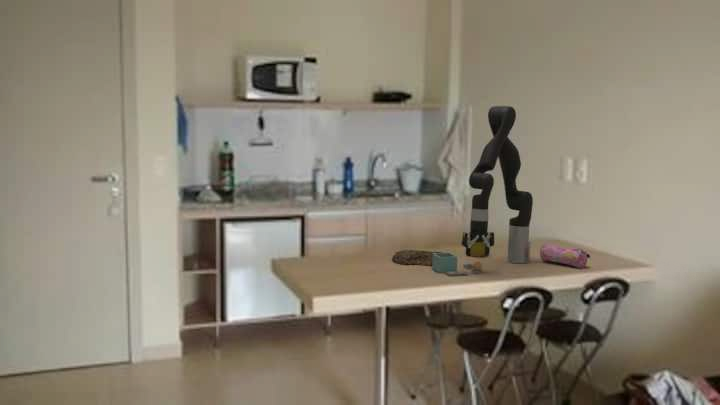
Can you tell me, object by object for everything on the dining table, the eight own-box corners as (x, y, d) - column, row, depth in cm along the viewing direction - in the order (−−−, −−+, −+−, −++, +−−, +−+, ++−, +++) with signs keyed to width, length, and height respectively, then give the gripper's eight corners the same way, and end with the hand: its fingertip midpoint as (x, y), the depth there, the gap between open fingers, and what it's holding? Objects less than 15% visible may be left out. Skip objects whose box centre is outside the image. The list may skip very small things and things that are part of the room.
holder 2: (479, 271, 320) (479, 268, 320) (483, 273, 317) (483, 270, 317) (471, 271, 319) (471, 269, 319) (475, 273, 316) (475, 270, 316)
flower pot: (489, 255, 354) (490, 237, 353) (482, 258, 347) (482, 239, 345) (472, 253, 359) (473, 235, 357) (465, 256, 351) (465, 237, 350)
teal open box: (449, 268, 325) (449, 252, 324) (456, 272, 317) (457, 256, 316) (432, 269, 323) (432, 253, 322) (439, 273, 315) (439, 257, 314)
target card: (463, 272, 317) (463, 270, 317) (468, 275, 313) (468, 272, 312) (444, 273, 315) (444, 271, 315) (449, 276, 310) (449, 274, 310)
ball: (479, 269, 320) (480, 260, 320) (483, 271, 317) (484, 262, 316) (471, 269, 319) (471, 260, 319) (475, 271, 316) (475, 262, 315)
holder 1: (470, 266, 329) (470, 264, 329) (474, 268, 325) (474, 265, 325) (463, 267, 328) (463, 264, 328) (466, 268, 324) (466, 266, 324)
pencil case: (589, 267, 333) (591, 248, 331) (579, 270, 326) (581, 250, 325) (548, 259, 347) (549, 241, 346) (537, 262, 341) (538, 243, 340)
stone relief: (396, 244, 356) (458, 248, 350) (396, 253, 356) (458, 257, 351) (388, 255, 330) (454, 259, 325) (388, 265, 331) (454, 269, 325)
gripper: (490, 217, 320) (488, 253, 322) (460, 217, 316) (458, 254, 318) (498, 220, 313) (496, 257, 315) (467, 220, 309) (465, 258, 311)
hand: (477, 255), depth 317 cm, fingers open, 8 cm apart
